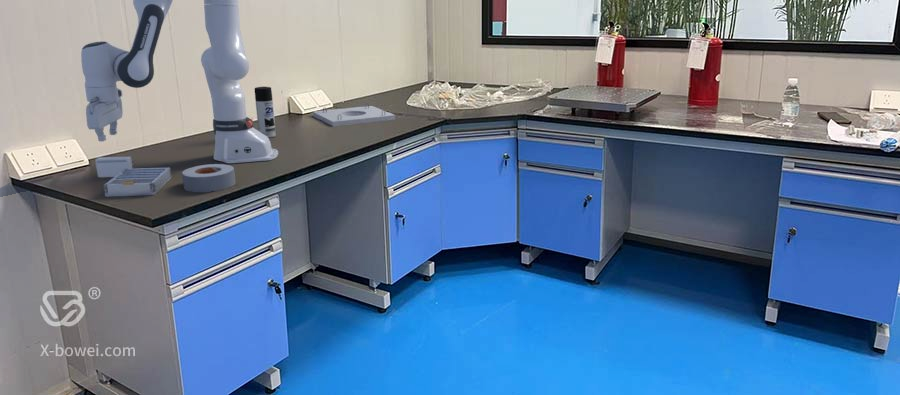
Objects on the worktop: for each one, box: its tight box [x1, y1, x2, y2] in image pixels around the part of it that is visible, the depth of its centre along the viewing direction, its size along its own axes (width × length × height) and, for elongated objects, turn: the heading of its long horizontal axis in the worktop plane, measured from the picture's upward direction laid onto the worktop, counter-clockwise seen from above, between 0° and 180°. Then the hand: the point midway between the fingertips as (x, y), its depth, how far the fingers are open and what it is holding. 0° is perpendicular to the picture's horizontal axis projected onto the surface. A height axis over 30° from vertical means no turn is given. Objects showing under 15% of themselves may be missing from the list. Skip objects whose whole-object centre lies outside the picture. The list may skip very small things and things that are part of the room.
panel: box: [95, 156, 134, 178], centre depth 217 cm, size 10×3×6 cm, turn 96°
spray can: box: [254, 86, 277, 139], centre depth 268 cm, size 7×7×20 cm
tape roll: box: [181, 163, 236, 193], centre depth 207 cm, size 15×15×5 cm
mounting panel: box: [312, 103, 396, 127], centre depth 307 cm, size 27×5×30 cm
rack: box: [102, 167, 173, 198], centre depth 205 cm, size 14×18×4 cm
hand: (108, 137), depth 213 cm, fingers open, 8 cm apart
